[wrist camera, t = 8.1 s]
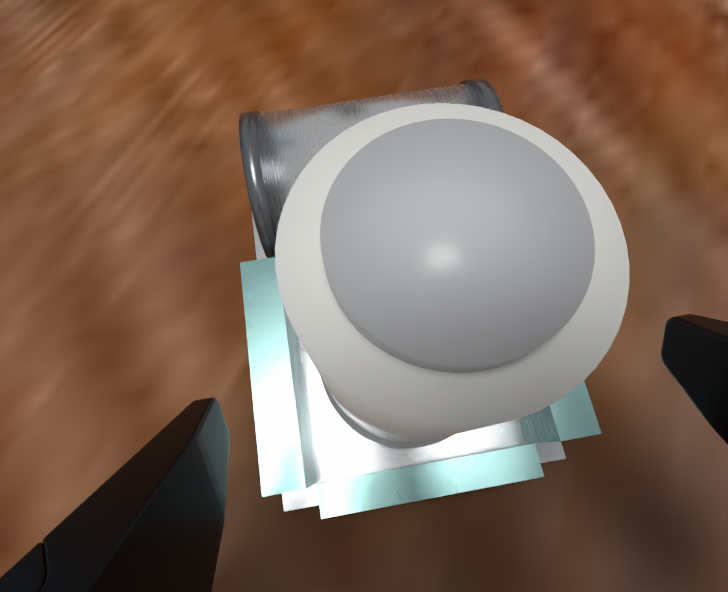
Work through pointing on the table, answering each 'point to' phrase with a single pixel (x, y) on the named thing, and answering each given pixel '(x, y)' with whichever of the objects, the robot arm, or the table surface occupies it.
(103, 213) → the table surface
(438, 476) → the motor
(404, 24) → the table surface
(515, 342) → the white cylinder
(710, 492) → the table surface
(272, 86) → the table surface
